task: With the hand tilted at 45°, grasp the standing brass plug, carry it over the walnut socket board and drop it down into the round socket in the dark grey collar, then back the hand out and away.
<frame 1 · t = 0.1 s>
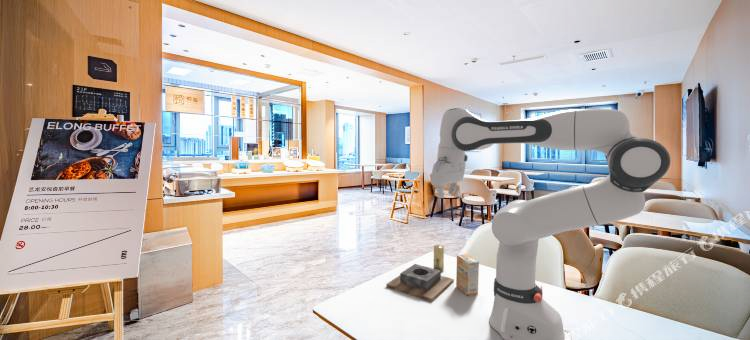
hand: (445, 195, 106), 39 cm above the table, tool pointing down, fingers open, 8 cm apart
socket board: (420, 284, 124), on the table
brass plug: (438, 270, 137), on the table
supplement box: (466, 290, 119), on the table
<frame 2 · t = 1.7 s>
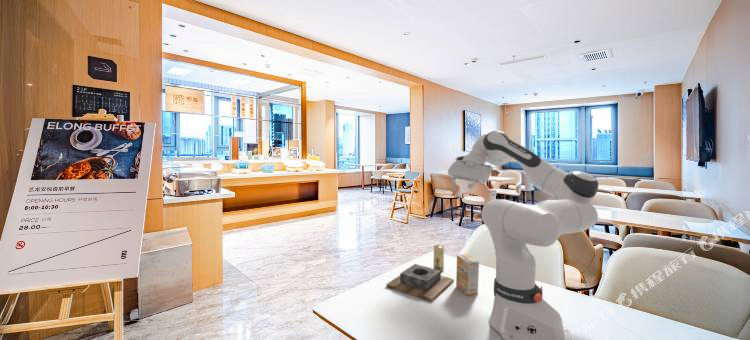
hand: (460, 186, 141), 37 cm above the table, tool tilted 40°, fingers open, 8 cm apart
nothing on the table moved.
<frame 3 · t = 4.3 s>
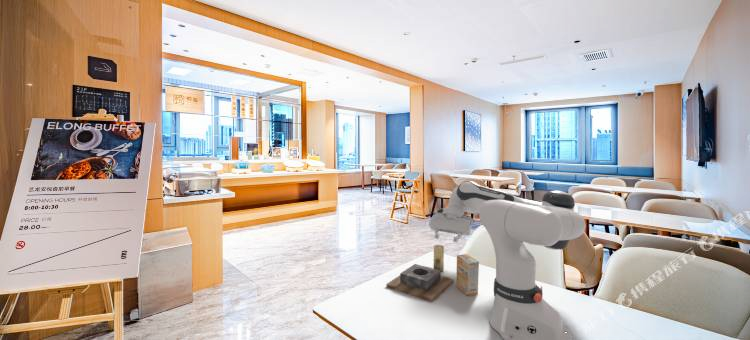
hand: (445, 239, 143), 12 cm above the table, tool tilted 45°, fingers open, 8 cm apart
nothing on the table moved.
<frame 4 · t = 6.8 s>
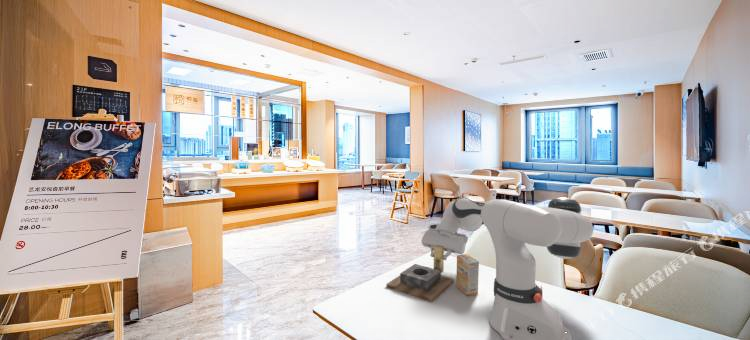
hand: (438, 257, 136), 6 cm above the table, tool tilted 45°, fingers closed on brass plug, 4 cm apart
brass plug: (438, 270, 137), on the table, touching gripper
everything else where it was.
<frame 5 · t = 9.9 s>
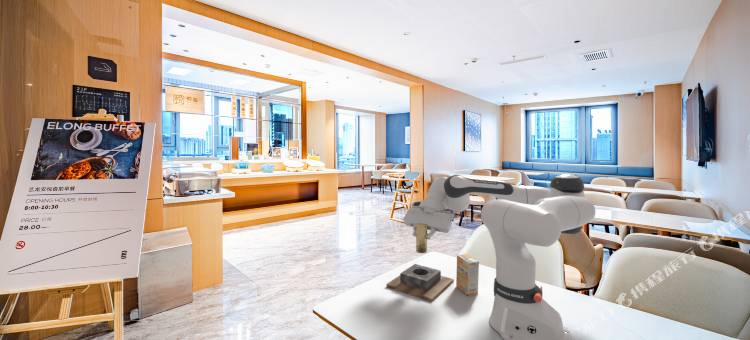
hand: (420, 237, 123), 19 cm above the table, tool tilted 45°, fingers closed on brass plug, 4 cm apart
brass plug: (421, 251, 124), point 13 cm above the table, touching gripper
everything else where it was.
when the fingers open (9 cm above the table, at t = 13.0 s): brass plug drops 1 cm, resting on socket board.
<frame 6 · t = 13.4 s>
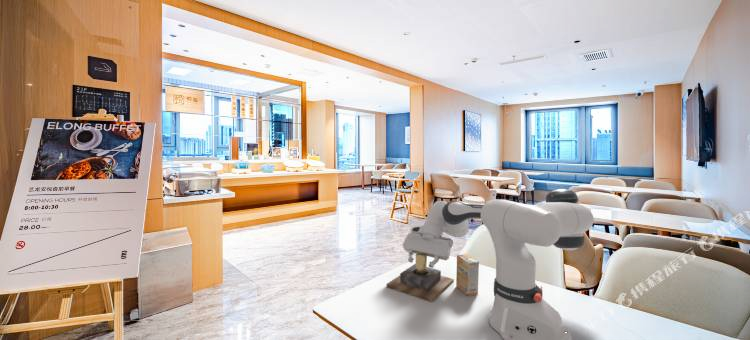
hand: (420, 264, 123), 9 cm above the table, tool tilted 45°, fingers open, 8 cm apart
brass plug: (420, 281, 124), point 1 cm above the table, touching socket board
everything else where it was.
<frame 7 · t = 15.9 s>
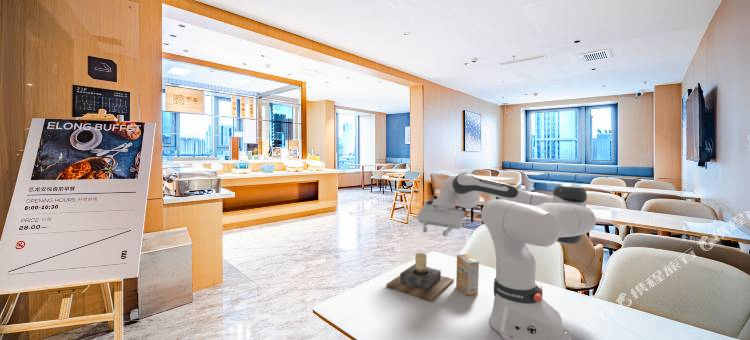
hand: (434, 233, 132), 18 cm above the table, tool tilted 45°, fingers open, 8 cm apart
nothing on the table moved.
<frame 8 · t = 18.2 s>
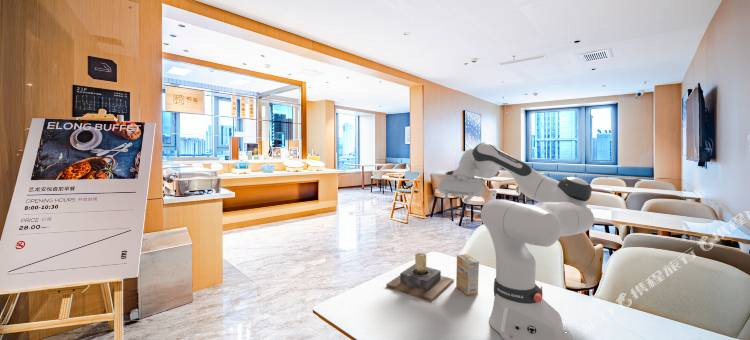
hand: (455, 200, 137), 31 cm above the table, tool tilted 45°, fingers open, 8 cm apart
nothing on the table moved.
at the end: brass plug 0.1 cm off-centre on the socket board, point 1.2 cm above the socket board's base; brass plug tilted 1°; the gripper is holding nothing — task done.
